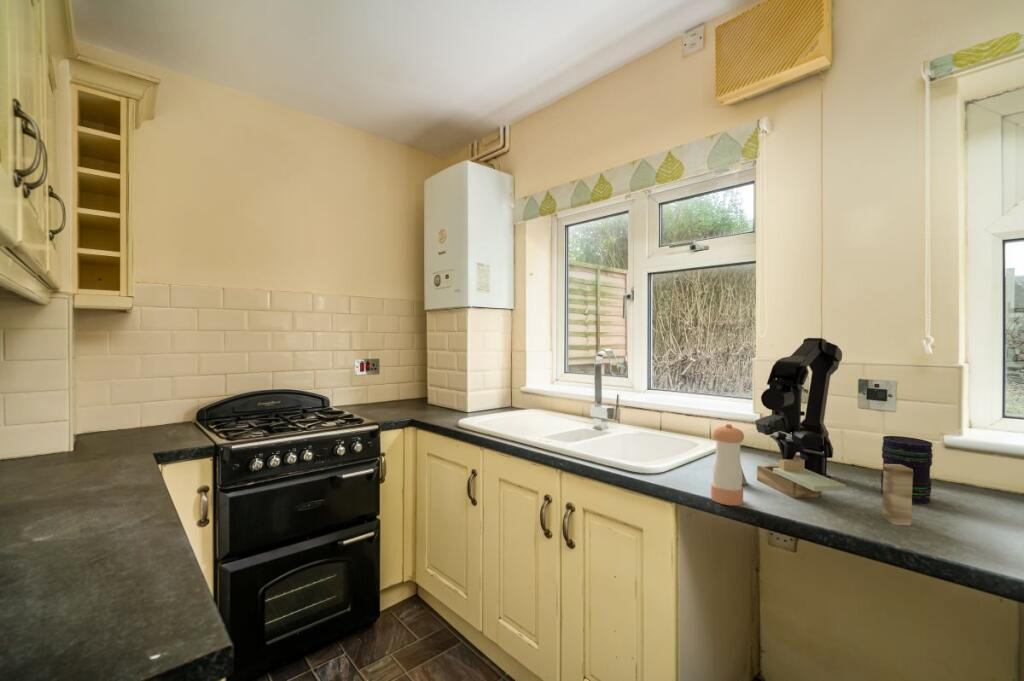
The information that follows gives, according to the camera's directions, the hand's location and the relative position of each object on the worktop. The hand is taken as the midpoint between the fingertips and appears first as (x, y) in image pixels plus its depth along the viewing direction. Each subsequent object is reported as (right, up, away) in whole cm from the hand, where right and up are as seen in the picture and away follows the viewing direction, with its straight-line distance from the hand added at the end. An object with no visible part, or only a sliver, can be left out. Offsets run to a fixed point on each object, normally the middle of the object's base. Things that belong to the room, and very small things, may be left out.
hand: (786, 463), depth 123 cm
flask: (-13, -7, +4) cm, 15 cm away
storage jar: (+27, -7, -6) cm, 28 cm away
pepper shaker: (-21, -7, -10) cm, 24 cm away
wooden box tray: (0, -7, 0) cm, 7 cm away
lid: (+1, -2, -7) cm, 8 cm away
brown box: (+12, -7, -21) cm, 25 cm away
